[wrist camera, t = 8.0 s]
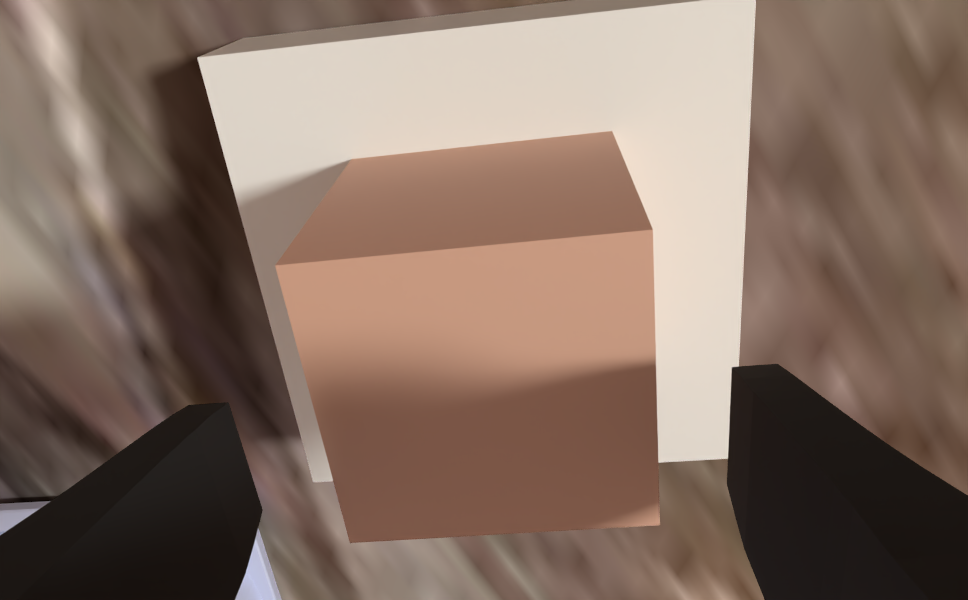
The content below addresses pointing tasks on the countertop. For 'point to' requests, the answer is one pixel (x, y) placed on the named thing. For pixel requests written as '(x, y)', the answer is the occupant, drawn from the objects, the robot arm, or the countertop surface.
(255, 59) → the base pad
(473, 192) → the terracotta cube
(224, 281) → the countertop surface
